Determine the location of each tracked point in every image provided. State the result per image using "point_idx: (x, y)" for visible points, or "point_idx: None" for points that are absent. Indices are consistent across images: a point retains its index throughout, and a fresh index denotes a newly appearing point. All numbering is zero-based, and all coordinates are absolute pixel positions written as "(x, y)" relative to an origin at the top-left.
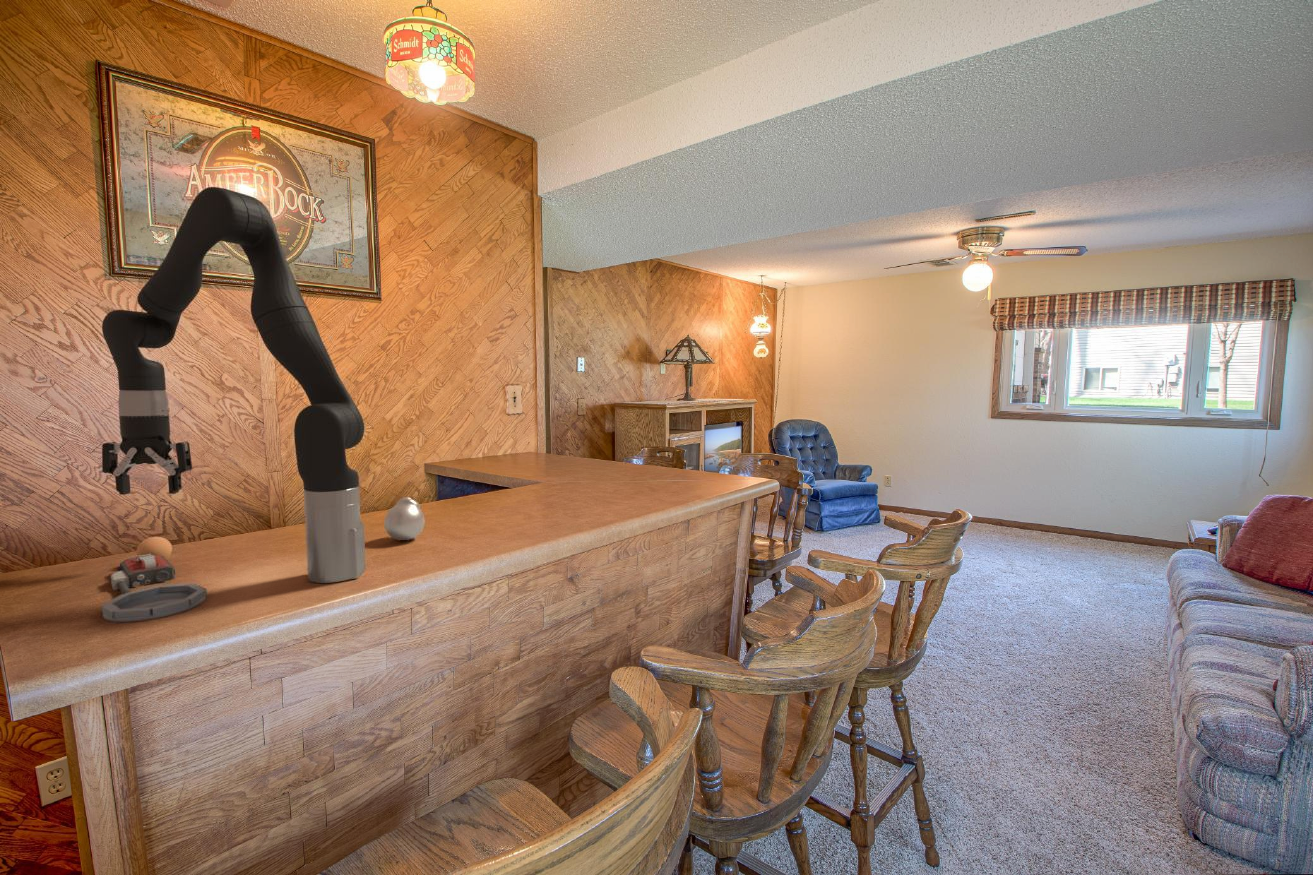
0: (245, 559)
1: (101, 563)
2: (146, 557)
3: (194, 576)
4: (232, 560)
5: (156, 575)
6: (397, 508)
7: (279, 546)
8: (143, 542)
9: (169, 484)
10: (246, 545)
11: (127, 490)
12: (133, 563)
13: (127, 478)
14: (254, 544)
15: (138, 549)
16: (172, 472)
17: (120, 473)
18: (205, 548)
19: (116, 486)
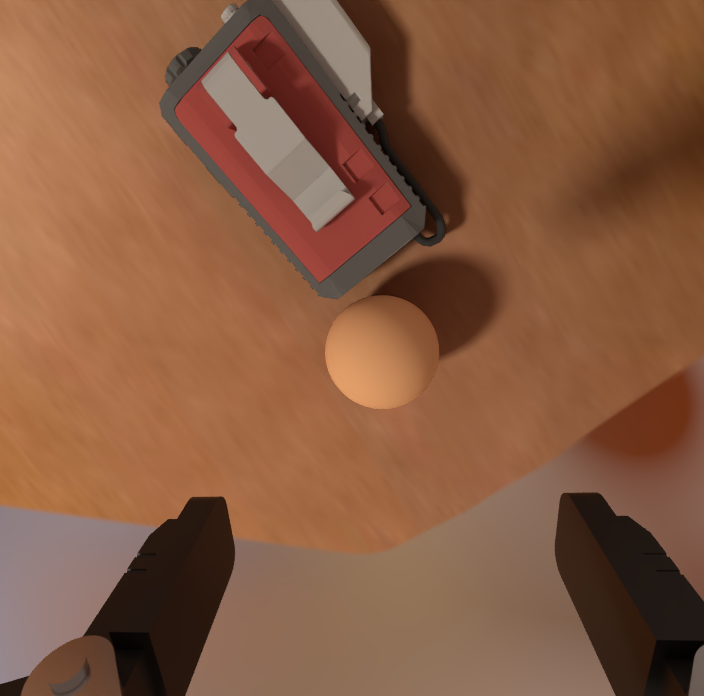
0: (93, 343)
1: (579, 364)
2: (271, 135)
3: (127, 143)
4: (131, 337)
5: (191, 48)
6: None
7: (87, 481)
8: (403, 336)
9: (180, 548)
10: None
11: (567, 551)
12: (342, 156)
13: (619, 668)
14: None
15: (415, 314)
16: (55, 663)
17: (696, 677)
18: (323, 493)
19: (663, 557)
